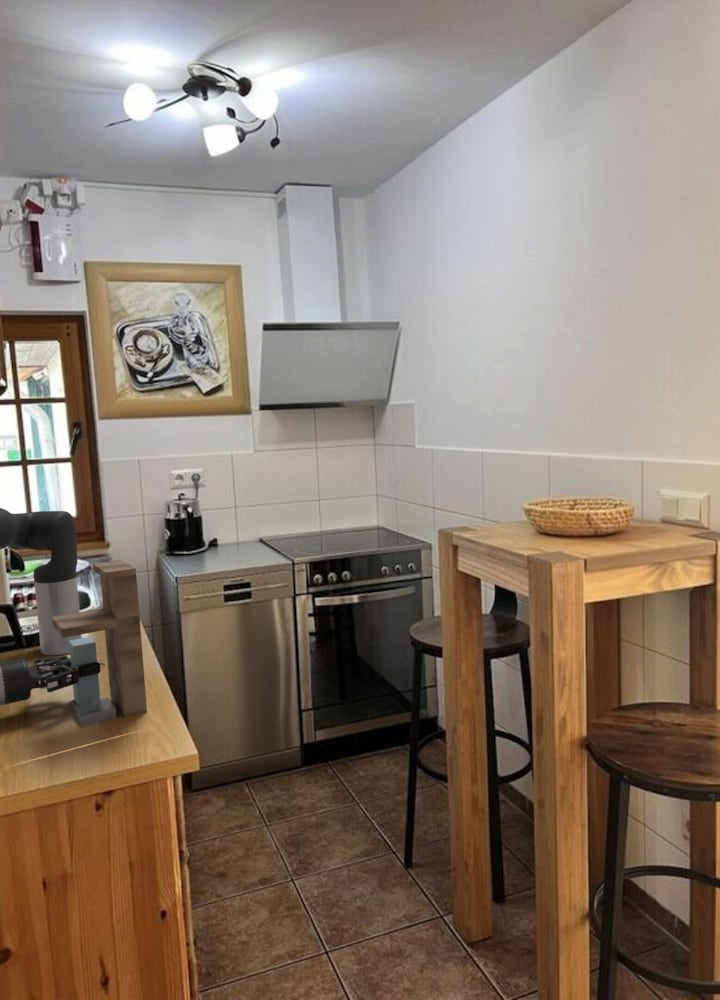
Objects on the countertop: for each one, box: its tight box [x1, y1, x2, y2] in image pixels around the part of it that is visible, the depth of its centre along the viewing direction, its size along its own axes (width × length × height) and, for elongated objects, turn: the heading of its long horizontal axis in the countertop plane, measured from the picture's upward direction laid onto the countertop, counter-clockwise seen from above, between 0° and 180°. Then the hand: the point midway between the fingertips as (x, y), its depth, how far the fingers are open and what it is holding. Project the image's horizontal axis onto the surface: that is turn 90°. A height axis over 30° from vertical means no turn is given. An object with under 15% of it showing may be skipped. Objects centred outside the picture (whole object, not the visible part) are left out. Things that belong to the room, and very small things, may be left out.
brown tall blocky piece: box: [51, 559, 148, 718], centre depth 135 cm, size 10×13×27 cm
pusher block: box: [69, 636, 101, 705], centre depth 142 cm, size 4×4×12 cm
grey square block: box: [74, 697, 117, 727], centre depth 134 cm, size 6×6×2 cm
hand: (96, 663), depth 143 cm, fingers closed on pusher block, 4 cm apart
